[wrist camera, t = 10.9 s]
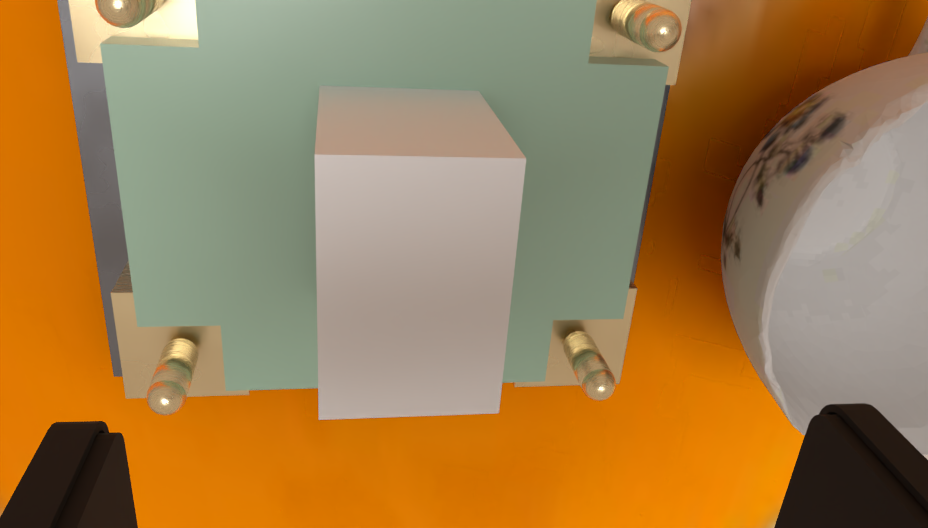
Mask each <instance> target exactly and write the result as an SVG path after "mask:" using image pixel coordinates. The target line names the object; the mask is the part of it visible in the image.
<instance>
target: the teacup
mask: <svg viewBox="0 0 928 528" xmlns="http://www.w3.org/2000/svg"><path fill="white" fill-rule="evenodd" d="M721 266H722V278H723V284H724V290H725V296H726V300H727V304H728V307H729V311H730V314H731V317H732V320H733V323H734V326H735V329H736V332H737V334H738V336H739V338H740V341H741V343H742V345H743V347H744V350H745V352H746V354H747V356H748V358H749V360H750V361H751V363H752V365H753V367H754V369H755V370H756V372H757V374H758V376H759V377H760V379H761V380H762V382H763V383H764V385H765V386H766V388H767V389H768V391H769V392H770V394H771V395H772V396H773V398H774V399H775V401H776V402H777V404H778V405H779V407H780V408H781V410H782V411H783V413H784V414H785V415H786V417H787V418H788V420H789V421H790V422H791V424H792V425H793V426H794V427H795V428H796V429H797V430H799V431H800V432H801V433H802V434H803V435H805V434H806V431H807V428H808V425H809V423H810V420H811V419H812V418H813V417H814V416H815V415H819V413H820V411H821V409H822V408H824V407H825V406H826V405H830V404H856V403H866V404H870V405H872V406H873V407H875V408H876V409H877V410H878V411H879V412H880V413H881V414H882V415H883V416H884V417H885V418H886V419H887V420H888V421H889V422H890V423H891V424H892V425H893V426H894V427H895V428H896V429H897V430H898V431H899V432H900V433H901V434H902V435H903V436H904V437H905V438H906V439H907V440H908V441H909V442H910V443H911V444H912V445H913V446H914V447H915V448H916V449H917V450H918V451H919V452H920V453H921V454H922V455H928V17H927V20H926V22H925V24H924V26H923V29H922V31H921V33H920V35H919V37H918V39H917V41H916V43H915V45H914V47H913V48H912V50H911V52H910V53H909V55H908V56H907V57H902V58H898V59H894V60H891V61H888V62H884V63H881V64H878V65H875V66H872V67H869V68H866V69H864V70H861V71H858V72H856V73H853V74H851V75H849V76H847V77H845V78H843V79H841V80H839V81H837V82H834V83H832V84H830V85H828V86H826V87H825V88H823V89H821V90H820V91H818V92H817V93H815V94H813V95H812V96H810V97H809V98H808V99H806V100H805V101H803V102H802V103H800V104H799V105H798V106H796V107H795V108H793V109H792V110H791V111H790V112H789V113H788V114H786V115H785V116H784V117H783V118H782V119H781V120H780V121H779V122H778V123H777V124H776V125H775V126H774V127H773V128H772V129H771V131H770V132H769V133H768V134H767V135H766V136H765V137H764V138H763V139H762V141H761V142H760V143H759V145H758V146H757V147H756V148H755V150H754V151H753V153H752V154H751V156H750V157H749V159H748V161H747V162H746V164H745V165H744V167H743V169H742V171H741V173H740V175H739V177H738V179H737V182H736V184H735V187H734V189H733V192H732V194H731V197H730V199H729V203H728V207H727V210H726V214H725V218H724V222H723V232H722V246H721Z"/></svg>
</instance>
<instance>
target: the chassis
mask: <svg viewBox="0 0 928 528" xmlns="http://www.w3.org/2000/svg"><path fill="white" fill-rule="evenodd" d="M57 1H58V8H59V15H60V21H61V28H62V34H63V41H64V48H65V54H66V61H67V68H68V74H69V81H70V88H71V94H72V101H73V108H74V114H75V121H76V127H77V134H78V141H79V147H80V154H81V161H82V167H83V174H84V181H85V187H86V194H87V201H88V207H89V214H90V221H91V227H92V234H93V240H94V247H95V254H96V260H97V267H98V274H99V280H100V287H101V294H102V300H103V307H104V314H105V320H106V327H107V333H108V340H109V347H110V353H111V360H112V367H113V373H114V376H123V382H124V389H125V395H126V398H147V403H148V405H149V407H150V408H151V409H152V410H153V411H154V412H156V413H157V414H160V415H171V414H174V413H176V412H178V411H179V410H180V409H181V408H182V407H183V406H184V404H185V402H186V399H187V397H191V396H225V395H249V393H250V390H238V391H226V388H225V375H224V362H223V349H222V337H221V326H163V327H137V320H136V312H135V305H134V297H133V290H132V282H131V275H130V267H129V260H128V252H127V245H126V237H125V229H124V222H123V214H122V207H121V199H120V192H119V184H118V177H117V169H116V161H115V154H114V146H113V139H112V131H111V124H110V116H109V109H108V101H107V93H106V86H105V78H104V71H103V63H102V56H101V48H100V43H102V42H103V41H105V40H106V39H108V38H109V37H110V36H119V37H143V38H167V39H191V40H198V31H197V18H196V5H195V0H57ZM690 6H691V0H597V2H596V10H595V17H594V24H593V32H592V39H591V46H590V54H589V56H594V57H617V58H641V59H656V60H657V61H659V62H661V63H663V64H665V65H667V66H668V67H669V69H668V74H667V80H666V85H665V91H664V96H663V102H662V107H661V113H660V118H659V124H658V129H657V135H656V141H655V146H654V152H653V157H652V163H651V168H650V174H649V179H648V185H647V190H646V196H645V201H644V207H643V212H642V218H641V223H640V229H639V234H638V240H637V246H636V251H635V257H634V262H633V268H632V273H631V279H630V284H629V290H628V295H627V301H626V306H625V312H624V317H623V319H592V320H553V326H552V333H551V341H550V348H549V355H548V363H547V370H546V377H545V381H541V382H513V384H514V387H531V386H565V385H580V386H581V388H582V390H583V392H584V393H585V395H586V396H588V397H589V398H590V399H592V400H596V401H602V400H605V399H607V398H609V397H610V396H611V395H612V394H613V393H614V391H615V387H616V384H619V383H620V378H621V373H622V367H623V362H624V357H625V351H626V346H627V341H628V335H629V330H630V325H631V320H632V314H633V309H634V304H635V298H636V293H637V287H636V286H635V285H634V278H635V273H636V267H637V262H638V256H639V251H640V246H641V240H642V235H643V229H644V224H645V219H646V213H647V208H648V202H649V197H650V192H651V186H652V181H653V175H654V170H655V165H656V159H657V154H658V148H659V143H660V137H661V132H662V127H663V121H664V116H665V110H666V105H667V100H668V94H669V89H670V85H676V80H677V75H678V70H679V64H680V59H681V54H682V48H683V43H684V38H685V32H686V27H687V22H688V16H689V11H690Z"/></svg>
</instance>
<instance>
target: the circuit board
mask: <svg viewBox="0 0 928 528" xmlns="http://www.w3.org/2000/svg"><path fill="white" fill-rule="evenodd" d="M596 2H597V0H195V5H196V18H197V31H198V40H191V39H167V38H143V37H119V36H110V37H109V38H108V39H106V40H105V41H103V42H102V43H100V48H101V56H102V63H103V71H104V78H105V86H106V93H107V101H108V109H109V116H110V124H111V131H112V139H113V146H114V154H115V161H116V169H117V177H118V184H119V192H120V199H121V207H122V214H123V222H124V229H125V237H126V245H127V252H128V260H129V267H130V275H131V282H132V290H133V297H134V305H135V312H136V320H137V327H163V326H221V337H222V349H223V362H224V375H225V388H226V391H238V390H272V389H306V388H318V405H319V420H328V419H356V418H383V417H411V416H438V415H466V414H493V413H499V408H500V399H501V390H502V383H507V382H541V381H545V377H546V370H547V363H548V355H549V348H550V341H551V333H552V326H553V320H592V319H623V317H624V312H625V306H626V301H627V295H628V290H629V284H630V279H631V273H632V268H633V262H634V257H635V251H636V246H637V240H638V234H639V229H640V223H641V218H642V212H643V207H644V201H645V196H646V190H647V185H648V179H649V174H650V168H651V163H652V157H653V152H654V146H655V141H656V135H657V129H658V124H659V118H660V113H661V107H662V102H663V96H664V91H665V85H666V80H667V74H668V69H669V67H668V66H667V65H665V64H663V63H661V62H659V61H657V60H656V59H641V58H617V57H594V56H589V54H590V46H591V39H592V32H593V24H594V17H595V10H596Z"/></svg>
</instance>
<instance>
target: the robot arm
mask: <svg viewBox="0 0 928 528" xmlns="http://www.w3.org/2000/svg"><path fill="white" fill-rule="evenodd" d="M0 528H138V527H137V520H136V514H135V507H134V501H133V494H132V488H131V481H130V475H129V468H128V462H127V455H126V449H125V442H124V438H123V435H122V434H121V433H109V430H108V427H107V425H106V423H105V422H103V421H92V422H56V423H54V424H52V425H51V427H50V428H49V429H48V431H47V433H46V435H45V437H44V438H43V440H42V442H41V444H40V446H39V448H38V449H37V451H36V453H35V455H34V457H33V459H32V460H31V462H30V464H29V466H28V468H27V469H26V471H25V473H24V475H23V477H22V479H21V480H20V482H19V484H18V486H17V488H16V490H15V491H14V493H13V495H12V497H11V499H10V501H9V502H8V504H7V506H6V508H5V510H4V511H3V513H2V515H1V517H0ZM774 528H928V460H927V459H926V458H925V457H924V456H923V455H922V454H921V453H920V452H919V451H918V450H917V449H916V448H915V447H914V446H913V445H912V444H911V443H910V442H909V441H908V440H907V439H906V438H905V437H904V436H903V435H902V434H901V433H900V432H899V431H898V430H897V429H896V428H895V427H894V426H893V425H892V424H891V423H890V422H889V421H888V420H887V419H886V418H885V417H884V416H883V415H882V414H881V413H880V412H879V411H878V410H877V409H876V408H875V407H873V406H872V405H870V404H866V403H856V404H830V405H826V406H825V407H824V408H822V409H821V411H820V413H819V415H815V416H814V417H813V418H812V419H811V420H810V423H809V425H808V428H807V431H806V434H805V437H804V440H803V443H802V446H801V449H800V452H799V455H798V458H797V461H796V464H795V467H794V470H793V473H792V476H791V479H790V482H789V485H788V488H787V491H786V494H785V497H784V500H783V503H782V506H781V509H780V512H779V515H778V518H777V521H776V524H775V527H774Z"/></svg>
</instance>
